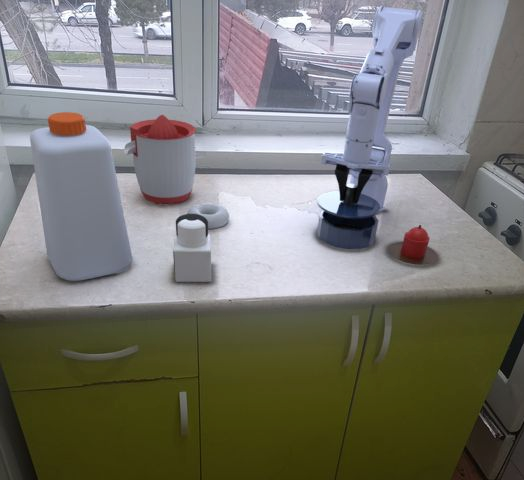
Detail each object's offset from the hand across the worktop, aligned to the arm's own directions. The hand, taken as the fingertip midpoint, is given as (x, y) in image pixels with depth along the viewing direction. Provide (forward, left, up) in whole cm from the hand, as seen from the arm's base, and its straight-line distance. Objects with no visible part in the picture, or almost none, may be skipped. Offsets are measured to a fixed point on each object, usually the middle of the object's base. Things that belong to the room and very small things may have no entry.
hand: (349, 200), depth 115 cm
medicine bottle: (+39, +1, -9) cm, 40 cm away
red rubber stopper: (-9, +14, -8) cm, 19 cm away
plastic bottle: (+56, -12, -9) cm, 58 cm away
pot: (0, +1, -9) cm, 9 cm away
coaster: (-9, +14, -9) cm, 19 cm away
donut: (+26, -19, -9) cm, 33 cm away
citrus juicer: (+30, -37, -9) cm, 49 cm away
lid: (0, 0, -1) cm, 1 cm away
